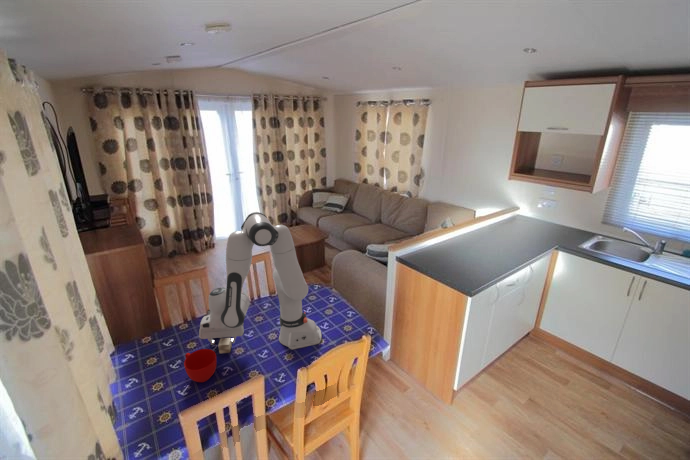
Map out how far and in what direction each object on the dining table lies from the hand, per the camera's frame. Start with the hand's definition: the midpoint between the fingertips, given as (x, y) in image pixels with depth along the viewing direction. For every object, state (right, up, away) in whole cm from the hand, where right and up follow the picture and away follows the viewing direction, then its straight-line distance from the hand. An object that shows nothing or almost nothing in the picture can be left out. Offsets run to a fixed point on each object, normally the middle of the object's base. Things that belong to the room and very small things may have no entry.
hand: (223, 343), depth 157 cm
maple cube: (0, -4, +2) cm, 5 cm away
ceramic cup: (-5, -10, -13) cm, 17 cm away
